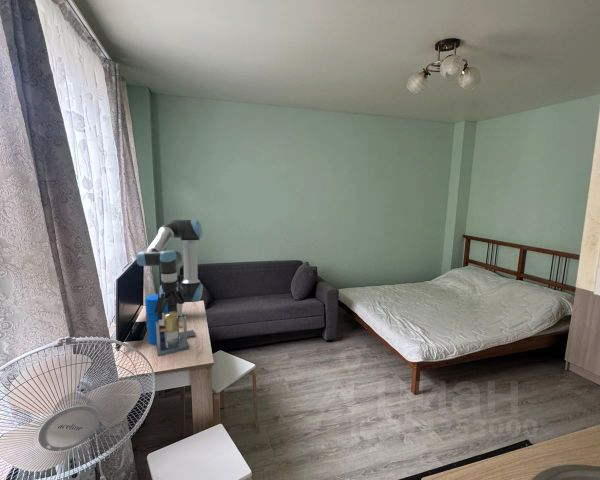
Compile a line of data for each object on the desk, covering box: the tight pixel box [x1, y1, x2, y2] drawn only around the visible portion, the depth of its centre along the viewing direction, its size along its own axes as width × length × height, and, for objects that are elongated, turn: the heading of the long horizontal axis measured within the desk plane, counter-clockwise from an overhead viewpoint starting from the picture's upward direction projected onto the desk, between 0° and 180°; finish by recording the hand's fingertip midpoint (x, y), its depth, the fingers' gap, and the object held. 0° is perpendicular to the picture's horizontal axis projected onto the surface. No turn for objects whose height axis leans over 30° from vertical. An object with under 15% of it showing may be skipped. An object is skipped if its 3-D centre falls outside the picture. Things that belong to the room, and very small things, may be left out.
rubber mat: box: [179, 329, 196, 339], centre depth 176 cm, size 8×8×1 cm
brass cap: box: [160, 311, 183, 333], centre depth 159 cm, size 11×7×9 cm, turn 118°
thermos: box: [145, 293, 168, 346], centre depth 168 cm, size 11×11×25 cm
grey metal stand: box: [155, 316, 190, 357], centre depth 160 cm, size 11×15×16 cm
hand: (171, 320), depth 159 cm, fingers open, 13 cm apart
